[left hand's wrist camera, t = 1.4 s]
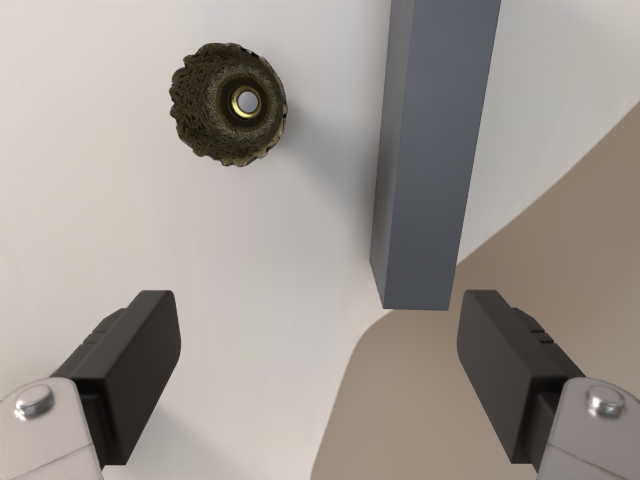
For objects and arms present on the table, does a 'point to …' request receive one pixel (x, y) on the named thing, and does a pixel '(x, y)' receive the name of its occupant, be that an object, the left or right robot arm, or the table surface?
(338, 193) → the table surface
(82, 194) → the table surface
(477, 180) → the table surface
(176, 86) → the cup
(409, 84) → the bar
